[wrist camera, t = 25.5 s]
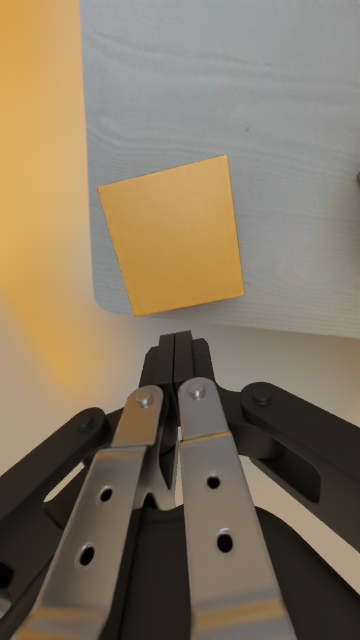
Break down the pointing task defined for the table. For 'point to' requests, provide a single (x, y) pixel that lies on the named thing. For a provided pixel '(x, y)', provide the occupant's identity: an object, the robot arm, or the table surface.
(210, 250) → the lid
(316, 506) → the robot arm
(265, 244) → the table surface
